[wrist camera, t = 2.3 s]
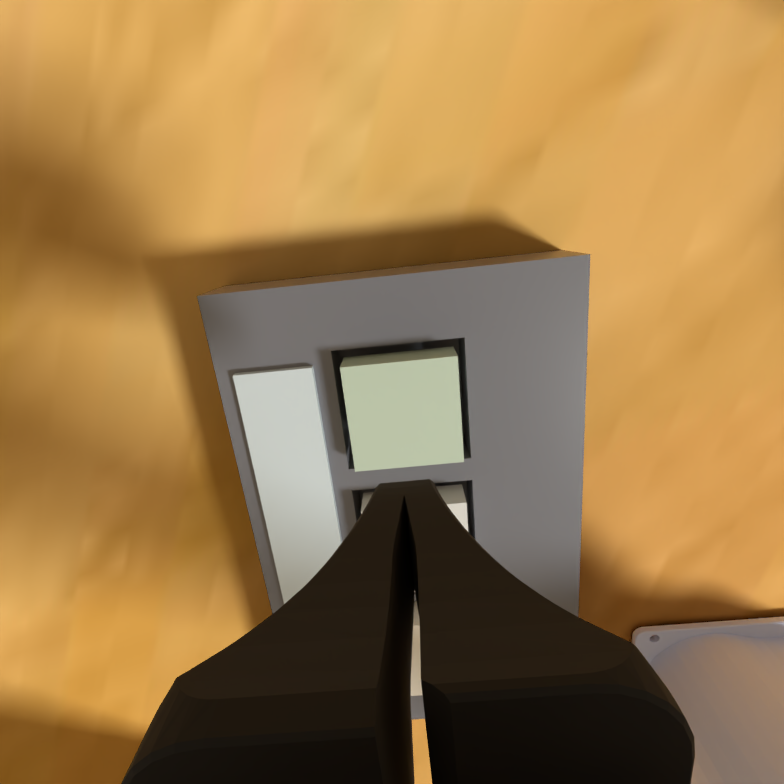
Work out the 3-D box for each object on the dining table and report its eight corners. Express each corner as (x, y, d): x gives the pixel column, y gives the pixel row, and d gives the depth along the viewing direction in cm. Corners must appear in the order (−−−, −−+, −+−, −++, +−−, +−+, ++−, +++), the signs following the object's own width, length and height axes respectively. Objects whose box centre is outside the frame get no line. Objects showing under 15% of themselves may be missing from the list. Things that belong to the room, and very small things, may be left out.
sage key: (453, 346, 18) (457, 355, 17) (459, 445, 19) (464, 461, 18) (343, 357, 18) (339, 367, 17) (357, 455, 20) (354, 471, 18)
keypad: (561, 250, 19) (593, 254, 16) (556, 656, 27) (577, 714, 24) (225, 286, 20) (193, 297, 17) (309, 674, 27) (298, 732, 24)
